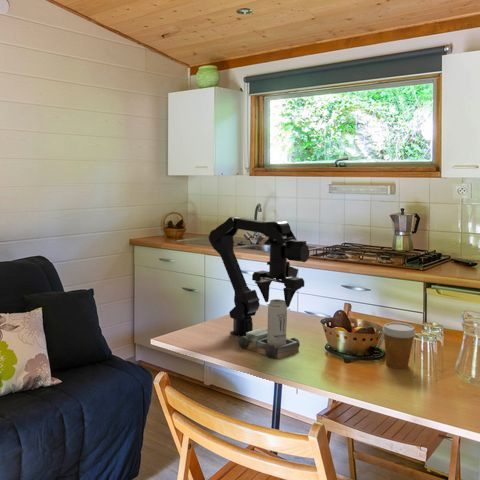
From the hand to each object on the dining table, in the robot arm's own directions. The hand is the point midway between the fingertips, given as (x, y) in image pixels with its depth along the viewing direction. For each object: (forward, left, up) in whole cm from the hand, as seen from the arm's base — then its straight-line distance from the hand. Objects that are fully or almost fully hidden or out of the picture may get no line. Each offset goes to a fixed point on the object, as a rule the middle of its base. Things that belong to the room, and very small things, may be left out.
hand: (276, 304), depth 179 cm
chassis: (+3, -7, -13) cm, 15 cm away
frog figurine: (+26, +20, -13) cm, 35 cm away
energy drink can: (+6, -7, -12) cm, 15 cm away
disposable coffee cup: (+39, +11, -13) cm, 43 cm away
